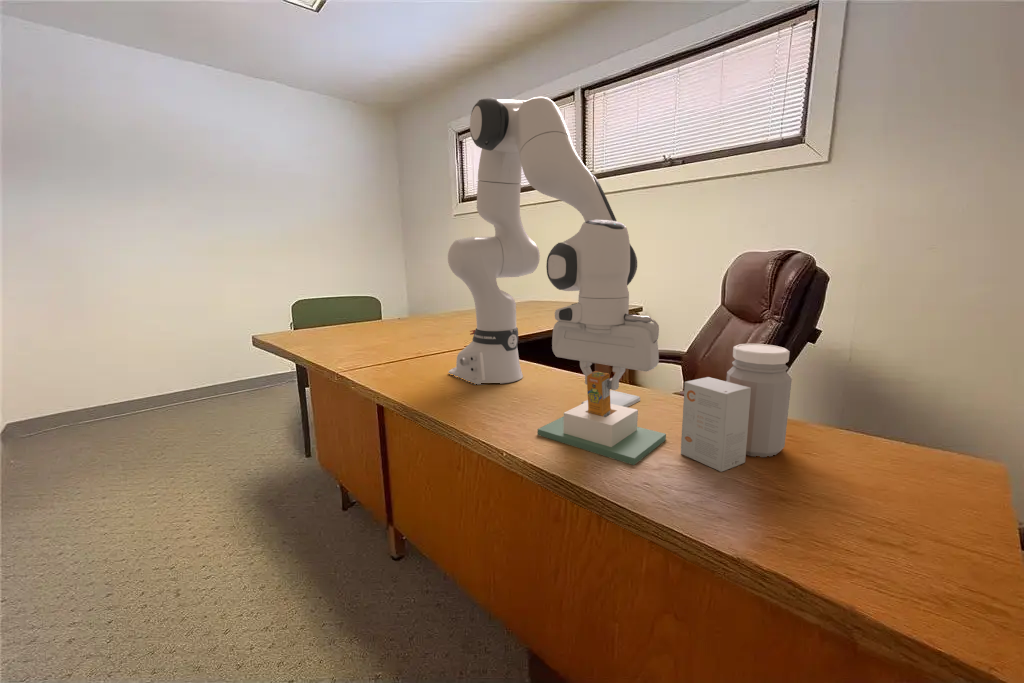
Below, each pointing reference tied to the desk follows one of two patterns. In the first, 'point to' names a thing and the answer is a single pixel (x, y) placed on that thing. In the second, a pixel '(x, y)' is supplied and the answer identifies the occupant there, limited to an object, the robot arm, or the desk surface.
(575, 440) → the board
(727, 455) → the small box
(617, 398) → the hard drive
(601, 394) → the supplement box
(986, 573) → the desk surface
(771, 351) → the jar
